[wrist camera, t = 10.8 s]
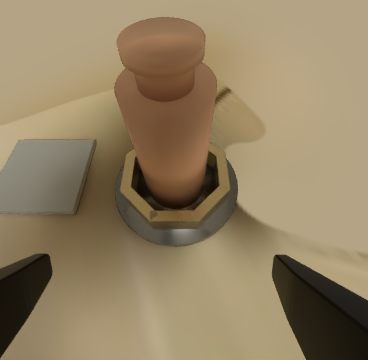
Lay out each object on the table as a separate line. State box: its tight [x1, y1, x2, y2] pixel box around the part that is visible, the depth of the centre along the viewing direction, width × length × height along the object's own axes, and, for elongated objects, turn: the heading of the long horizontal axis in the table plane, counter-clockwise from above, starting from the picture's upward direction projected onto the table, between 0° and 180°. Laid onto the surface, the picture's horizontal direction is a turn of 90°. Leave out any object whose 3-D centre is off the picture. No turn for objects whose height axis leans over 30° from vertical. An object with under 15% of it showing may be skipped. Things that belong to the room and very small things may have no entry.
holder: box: [115, 142, 238, 247], centre depth 18 cm, size 11×11×3 cm
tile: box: [0, 140, 96, 214], centre depth 20 cm, size 8×8×1 cm
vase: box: [114, 17, 217, 209], centre depth 14 cm, size 5×5×12 cm
